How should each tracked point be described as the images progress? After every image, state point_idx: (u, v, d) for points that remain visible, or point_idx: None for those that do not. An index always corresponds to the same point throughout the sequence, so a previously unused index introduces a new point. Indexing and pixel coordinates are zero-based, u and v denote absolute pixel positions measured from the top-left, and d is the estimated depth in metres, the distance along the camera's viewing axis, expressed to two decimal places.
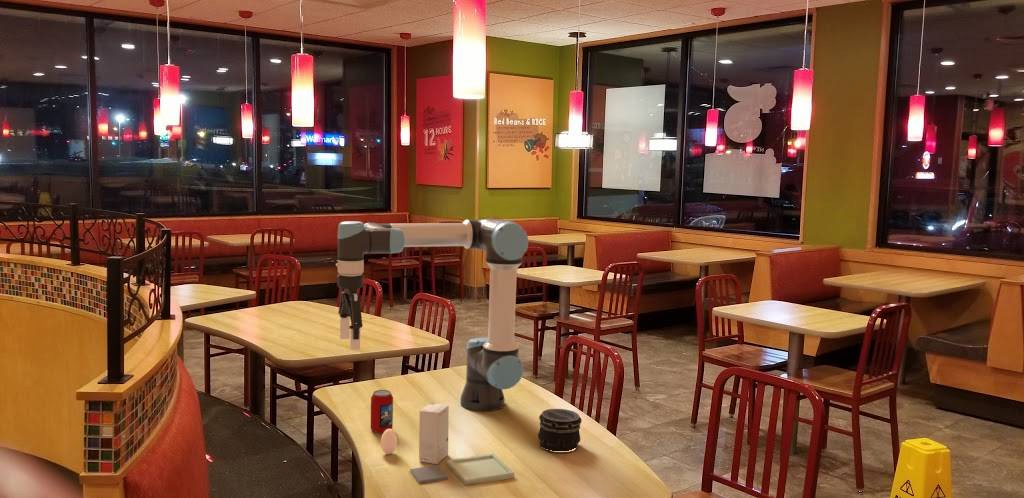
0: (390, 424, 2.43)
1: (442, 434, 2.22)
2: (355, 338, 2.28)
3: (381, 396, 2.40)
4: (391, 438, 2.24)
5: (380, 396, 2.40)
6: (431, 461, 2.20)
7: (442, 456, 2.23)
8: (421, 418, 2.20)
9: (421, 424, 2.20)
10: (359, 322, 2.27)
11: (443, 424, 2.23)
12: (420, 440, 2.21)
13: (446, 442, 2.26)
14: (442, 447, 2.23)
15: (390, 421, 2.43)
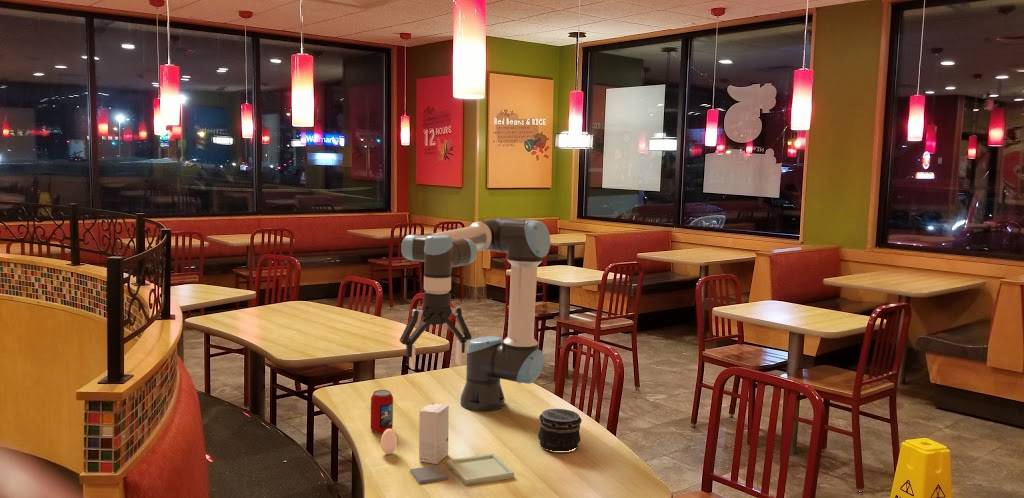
0: (390, 424, 2.43)
1: (442, 434, 2.22)
2: None
3: (381, 396, 2.40)
4: (391, 438, 2.24)
5: (380, 396, 2.40)
6: (431, 461, 2.20)
7: (442, 456, 2.23)
8: (421, 418, 2.20)
9: (421, 424, 2.20)
10: (403, 338, 2.15)
11: (443, 424, 2.23)
12: (420, 440, 2.21)
13: (446, 442, 2.26)
14: (442, 447, 2.23)
15: (390, 421, 2.43)
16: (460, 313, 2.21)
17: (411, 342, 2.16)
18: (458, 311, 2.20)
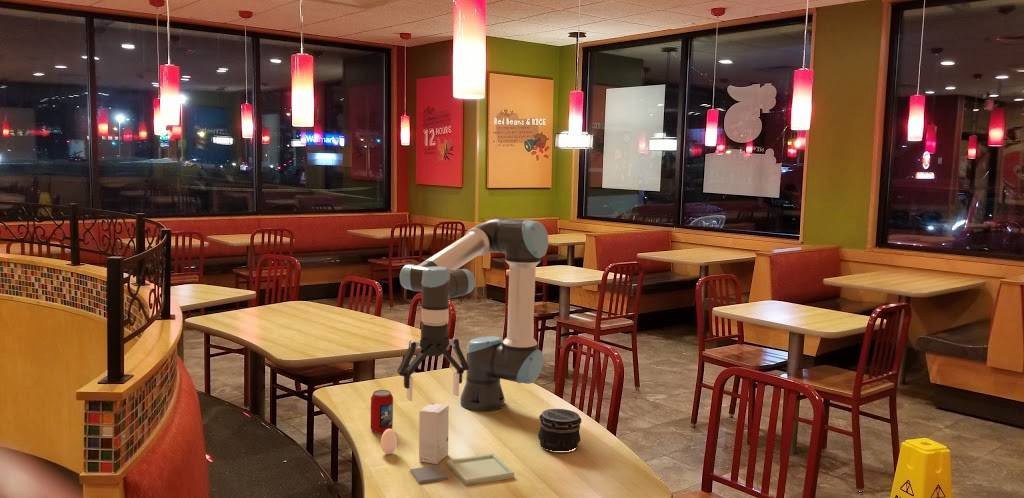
0: (390, 424, 2.43)
1: (442, 434, 2.22)
2: (404, 386, 2.19)
3: (381, 396, 2.40)
4: (391, 438, 2.24)
5: (380, 396, 2.40)
6: (431, 461, 2.20)
7: (442, 456, 2.23)
8: (421, 418, 2.20)
9: (421, 424, 2.20)
10: (400, 369, 2.17)
11: (443, 424, 2.23)
12: (420, 440, 2.21)
13: (446, 442, 2.26)
14: (442, 447, 2.23)
15: (390, 421, 2.43)
16: (457, 344, 2.22)
17: (408, 373, 2.17)
18: (455, 342, 2.22)
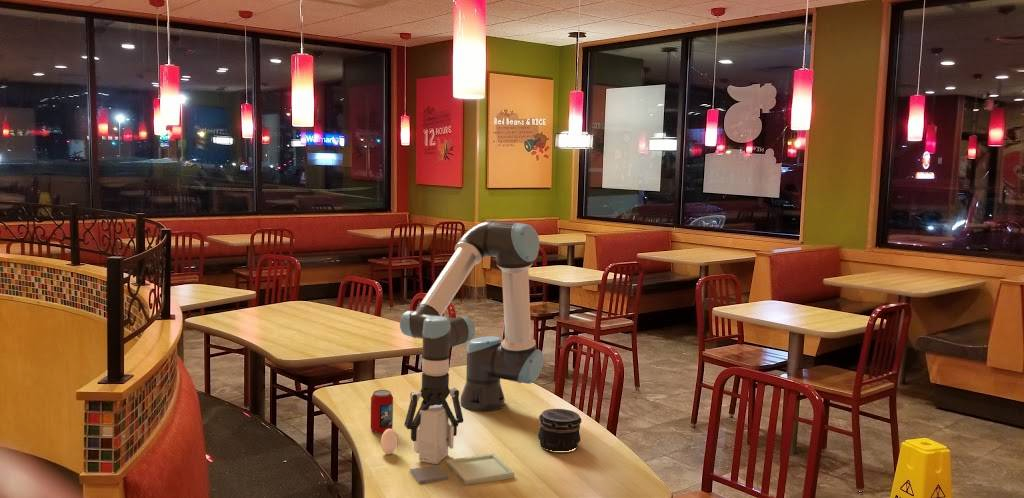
0: (390, 424, 2.43)
1: (442, 434, 2.22)
2: (411, 438, 2.21)
3: (381, 396, 2.40)
4: (391, 438, 2.24)
5: (380, 396, 2.40)
6: (431, 461, 2.20)
7: (442, 456, 2.23)
8: (421, 418, 2.20)
9: (421, 424, 2.20)
10: (407, 423, 2.19)
11: (443, 424, 2.23)
12: (420, 440, 2.21)
13: (446, 442, 2.26)
14: (442, 446, 2.23)
15: (390, 421, 2.43)
16: (457, 395, 2.24)
17: (415, 426, 2.20)
18: (456, 393, 2.23)
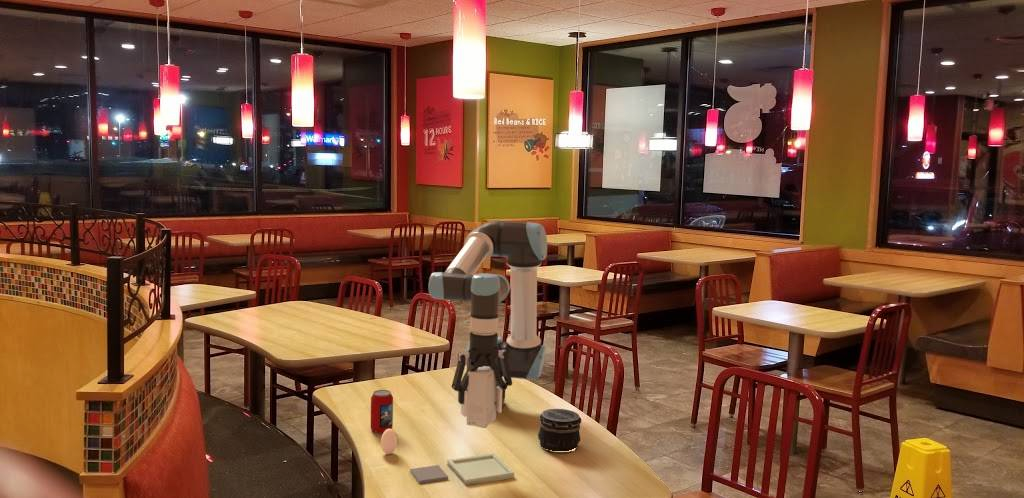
0: (390, 424, 2.43)
1: (491, 397, 2.13)
2: (458, 401, 2.12)
3: (381, 396, 2.40)
4: (391, 438, 2.24)
5: (380, 396, 2.40)
6: (480, 425, 2.10)
7: (490, 420, 2.14)
8: (469, 380, 2.10)
9: (469, 386, 2.10)
10: (454, 385, 2.10)
11: (492, 386, 2.13)
12: (468, 403, 2.11)
13: (494, 405, 2.16)
14: (490, 410, 2.13)
15: (390, 421, 2.43)
16: (506, 357, 2.14)
17: (463, 388, 2.10)
18: (505, 354, 2.14)
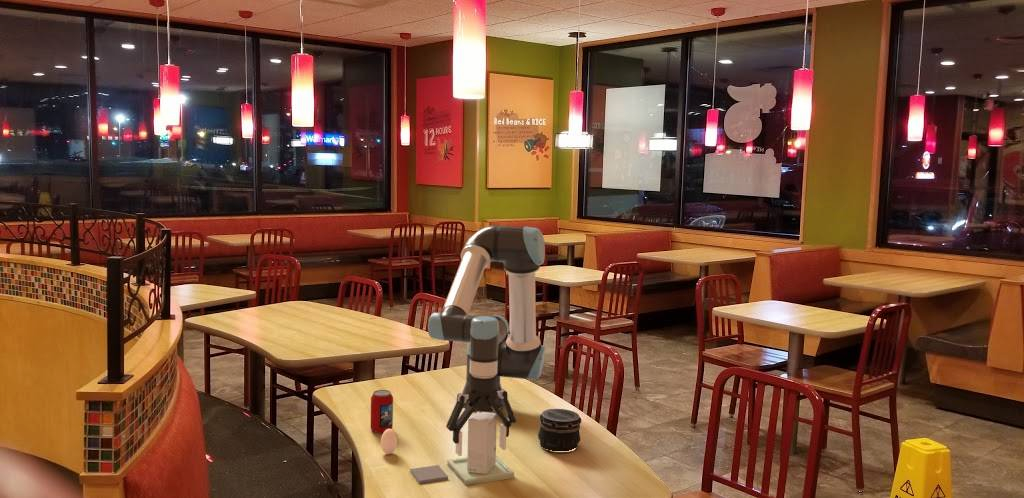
0: (390, 424, 2.43)
1: (491, 443, 2.14)
2: (453, 441, 2.12)
3: (381, 396, 2.40)
4: (391, 438, 2.24)
5: (380, 396, 2.40)
6: (480, 472, 2.12)
7: (490, 466, 2.15)
8: (470, 427, 2.12)
9: (470, 433, 2.12)
10: (450, 424, 2.10)
11: (492, 433, 2.15)
12: (469, 450, 2.13)
13: (494, 451, 2.18)
14: (491, 456, 2.15)
15: (390, 421, 2.43)
16: (506, 396, 2.15)
17: (458, 428, 2.11)
18: (504, 394, 2.15)
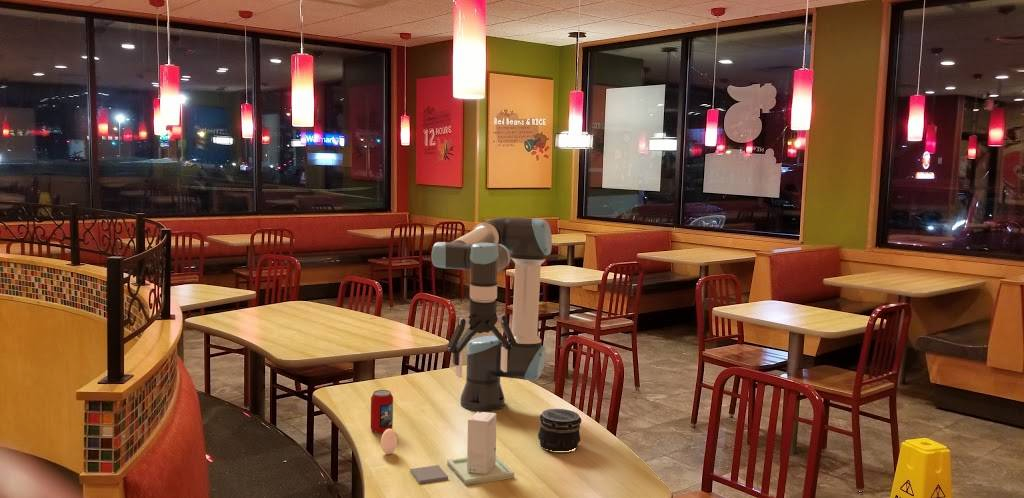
0: (390, 424, 2.43)
1: (491, 443, 2.15)
2: None
3: (381, 396, 2.40)
4: (391, 438, 2.24)
5: (380, 396, 2.40)
6: (480, 472, 2.12)
7: (490, 466, 2.15)
8: (470, 427, 2.12)
9: (469, 433, 2.12)
10: (450, 347, 2.16)
11: (492, 433, 2.15)
12: (468, 450, 2.13)
13: (494, 451, 2.18)
14: (491, 456, 2.15)
15: (390, 421, 2.43)
16: (506, 320, 2.21)
17: (458, 350, 2.16)
18: (504, 318, 2.21)
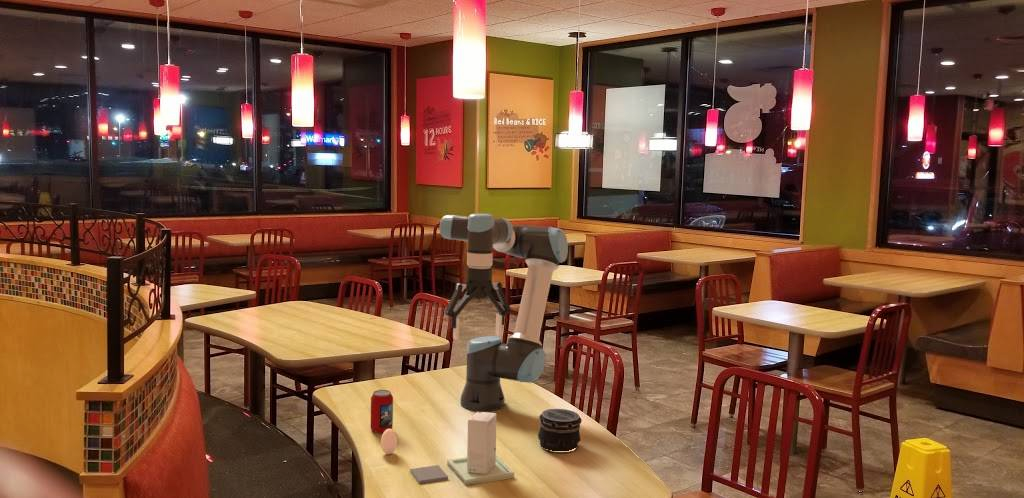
0: (390, 424, 2.43)
1: (491, 443, 2.15)
2: (451, 326, 2.31)
3: (381, 396, 2.40)
4: (391, 438, 2.24)
5: (380, 396, 2.40)
6: (480, 472, 2.12)
7: (490, 466, 2.15)
8: (470, 427, 2.12)
9: (469, 433, 2.12)
10: (448, 310, 2.30)
11: (492, 433, 2.15)
12: (468, 450, 2.13)
13: (494, 451, 2.18)
14: (491, 456, 2.15)
15: (390, 421, 2.43)
16: (500, 287, 2.35)
17: (455, 314, 2.30)
18: (499, 285, 2.34)
